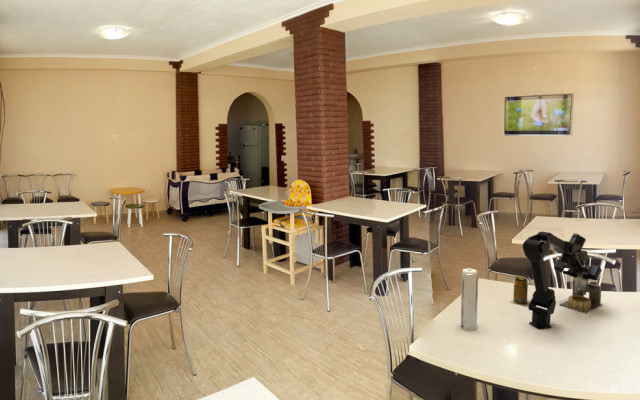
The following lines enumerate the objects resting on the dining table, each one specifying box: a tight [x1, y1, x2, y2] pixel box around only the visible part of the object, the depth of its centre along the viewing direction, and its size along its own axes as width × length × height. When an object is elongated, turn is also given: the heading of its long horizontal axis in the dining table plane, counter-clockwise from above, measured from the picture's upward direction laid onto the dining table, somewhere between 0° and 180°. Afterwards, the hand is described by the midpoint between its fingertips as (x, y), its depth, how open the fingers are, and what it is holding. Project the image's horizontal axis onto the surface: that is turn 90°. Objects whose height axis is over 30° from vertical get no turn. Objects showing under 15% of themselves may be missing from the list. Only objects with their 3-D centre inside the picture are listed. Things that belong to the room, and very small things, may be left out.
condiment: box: [509, 276, 531, 307], centre depth 222 cm, size 7×8×12 cm
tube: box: [574, 272, 588, 296], centre depth 215 cm, size 5×5×12 cm
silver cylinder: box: [460, 267, 479, 331], centre depth 196 cm, size 6×6×25 cm
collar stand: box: [559, 279, 603, 314], centre depth 217 cm, size 15×12×10 cm
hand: (582, 279), depth 215 cm, fingers closed on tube, 5 cm apart
